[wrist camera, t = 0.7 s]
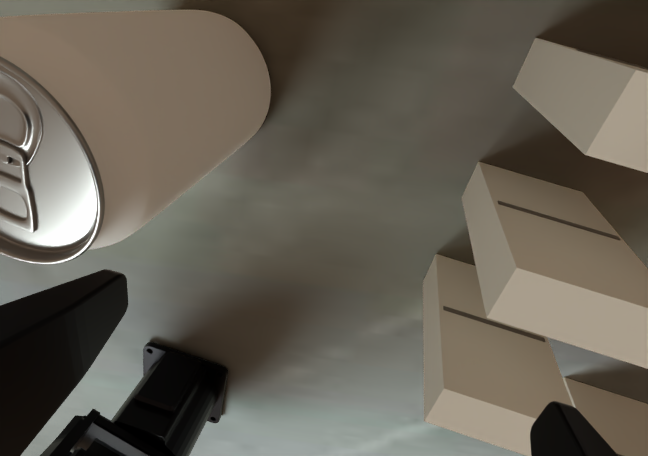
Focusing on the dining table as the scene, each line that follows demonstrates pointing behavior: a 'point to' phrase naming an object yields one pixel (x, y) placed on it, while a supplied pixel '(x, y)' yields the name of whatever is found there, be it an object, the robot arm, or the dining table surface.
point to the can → (115, 121)
